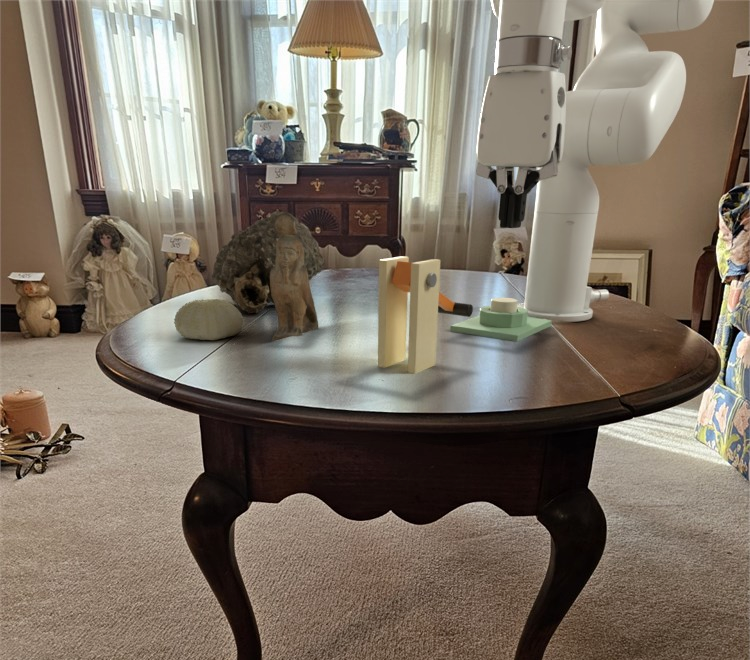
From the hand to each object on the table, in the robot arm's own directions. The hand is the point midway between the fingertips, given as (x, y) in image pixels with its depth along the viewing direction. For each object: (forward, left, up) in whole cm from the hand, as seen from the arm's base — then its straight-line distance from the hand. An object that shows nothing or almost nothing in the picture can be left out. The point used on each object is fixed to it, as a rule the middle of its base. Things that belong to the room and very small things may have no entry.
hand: (510, 227), depth 86 cm
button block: (0, 0, -15) cm, 15 cm away
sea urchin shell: (+38, -16, -15) cm, 44 cm away
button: (0, 0, -11) cm, 11 cm away
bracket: (+21, +13, -15) cm, 28 cm away
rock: (+26, -34, -15) cm, 45 cm away
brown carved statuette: (+27, -11, -15) cm, 33 cm away
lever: (+17, +11, -7) cm, 21 cm away
